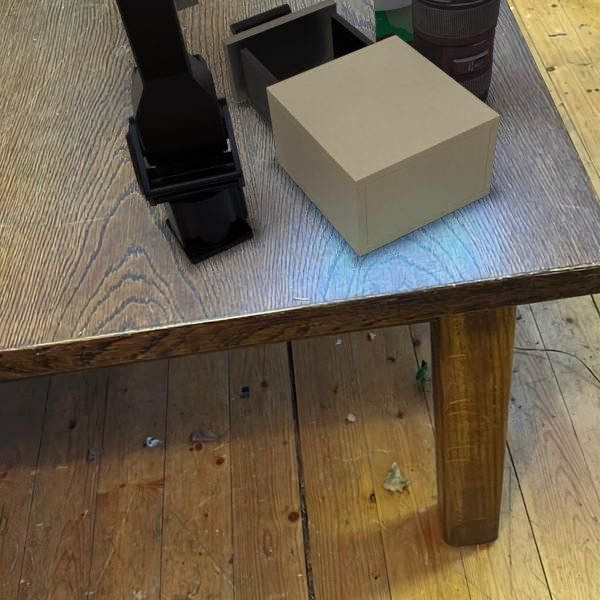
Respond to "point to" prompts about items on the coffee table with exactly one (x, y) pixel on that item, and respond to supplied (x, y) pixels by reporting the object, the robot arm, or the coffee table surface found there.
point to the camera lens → (458, 39)
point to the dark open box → (285, 48)
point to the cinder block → (185, 4)
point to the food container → (394, 20)
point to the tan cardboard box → (383, 141)
